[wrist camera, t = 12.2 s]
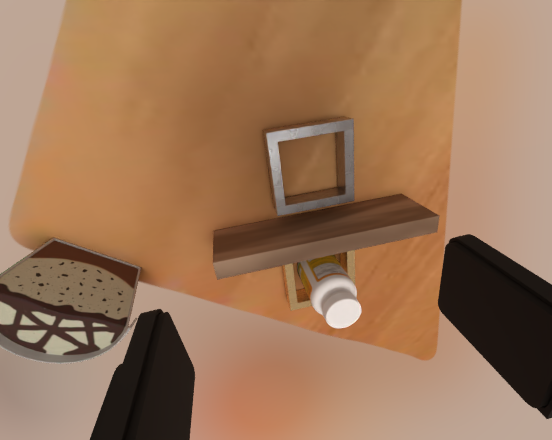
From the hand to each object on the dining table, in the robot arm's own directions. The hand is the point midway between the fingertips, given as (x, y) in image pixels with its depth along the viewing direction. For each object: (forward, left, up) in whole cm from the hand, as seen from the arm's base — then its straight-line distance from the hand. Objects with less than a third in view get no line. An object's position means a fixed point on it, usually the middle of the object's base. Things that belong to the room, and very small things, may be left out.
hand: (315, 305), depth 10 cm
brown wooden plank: (+3, +11, -24) cm, 27 cm away
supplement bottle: (+8, +15, -24) cm, 30 cm away
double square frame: (+3, +11, -24) cm, 27 cm away
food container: (+21, -9, -24) cm, 34 cm away
